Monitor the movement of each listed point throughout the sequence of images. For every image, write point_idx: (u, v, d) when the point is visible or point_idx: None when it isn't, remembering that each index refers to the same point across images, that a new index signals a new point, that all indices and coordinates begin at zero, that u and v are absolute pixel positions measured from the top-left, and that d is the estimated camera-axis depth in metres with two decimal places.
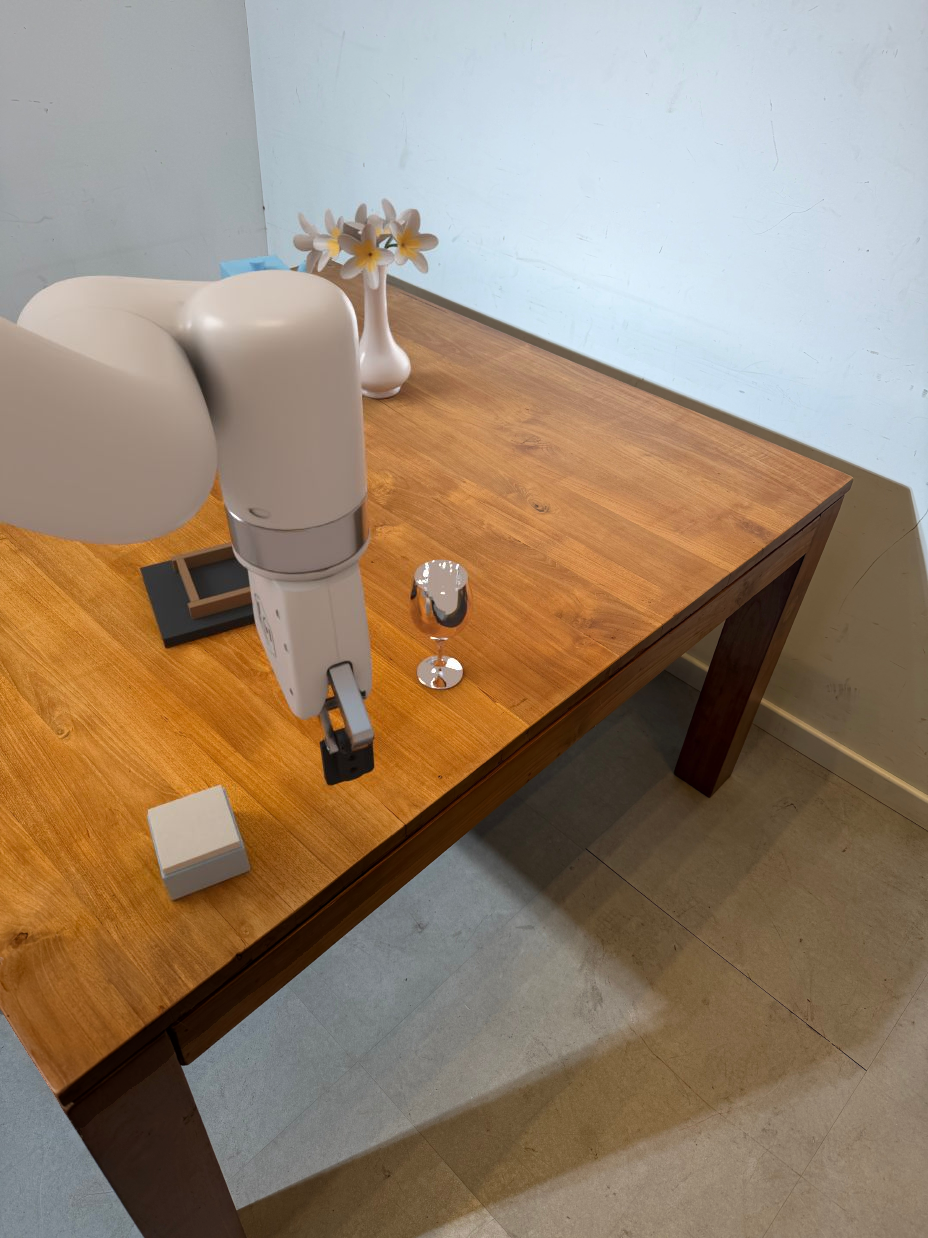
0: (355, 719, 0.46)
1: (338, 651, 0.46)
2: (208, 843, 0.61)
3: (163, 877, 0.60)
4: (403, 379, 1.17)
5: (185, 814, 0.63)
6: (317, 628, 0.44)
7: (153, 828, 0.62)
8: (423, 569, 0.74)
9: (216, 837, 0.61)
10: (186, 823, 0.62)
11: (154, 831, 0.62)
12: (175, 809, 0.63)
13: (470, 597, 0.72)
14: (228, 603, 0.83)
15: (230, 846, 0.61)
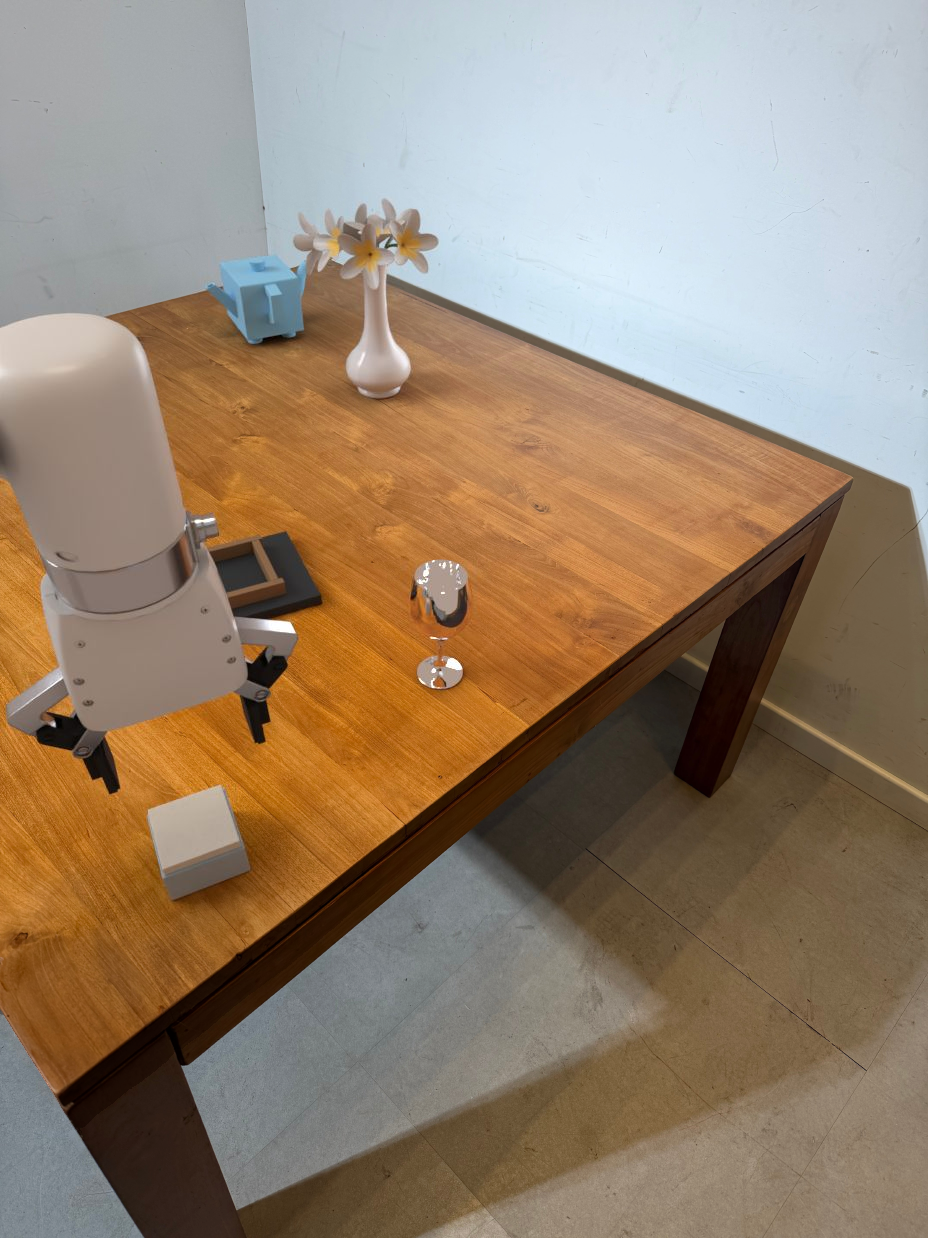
0: (18, 701, 0.48)
1: None
2: (208, 843, 0.61)
3: (163, 877, 0.60)
4: (403, 379, 1.17)
5: (185, 814, 0.63)
6: None
7: (153, 828, 0.62)
8: (423, 569, 0.74)
9: (216, 837, 0.61)
10: (186, 823, 0.62)
11: (154, 831, 0.62)
12: (175, 809, 0.63)
13: (470, 597, 0.72)
14: None
15: (230, 846, 0.61)
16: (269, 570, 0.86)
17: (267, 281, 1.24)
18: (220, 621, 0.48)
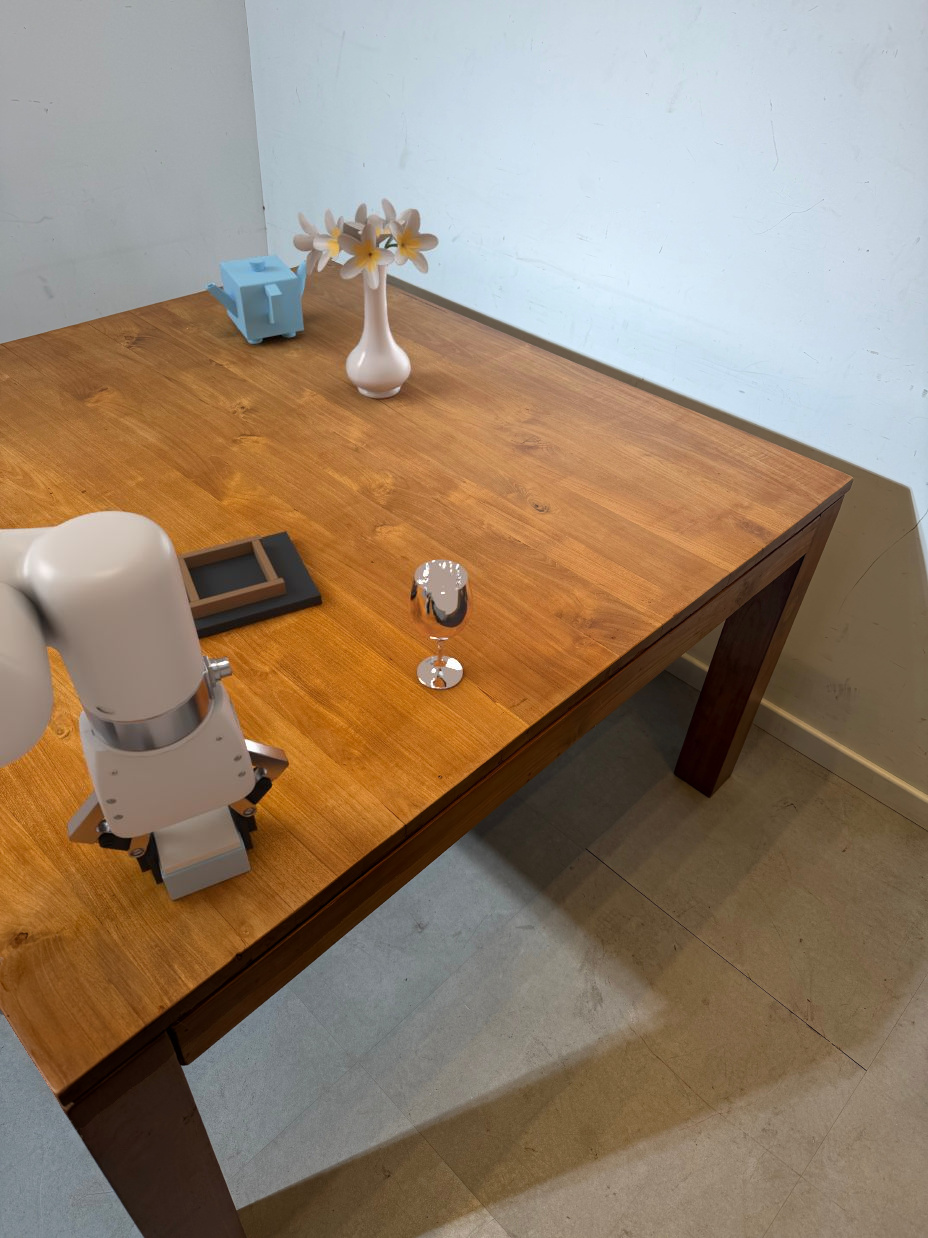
0: (73, 821, 0.57)
1: None
2: (208, 843, 0.61)
3: (163, 877, 0.60)
4: (403, 379, 1.17)
5: None
6: (82, 748, 0.54)
7: None
8: (423, 569, 0.74)
9: (216, 837, 0.61)
10: (186, 823, 0.62)
11: (154, 831, 0.62)
12: None
13: (470, 597, 0.72)
14: (228, 603, 0.83)
15: (230, 846, 0.61)
16: (269, 570, 0.86)
17: (267, 281, 1.24)
18: (232, 745, 0.56)
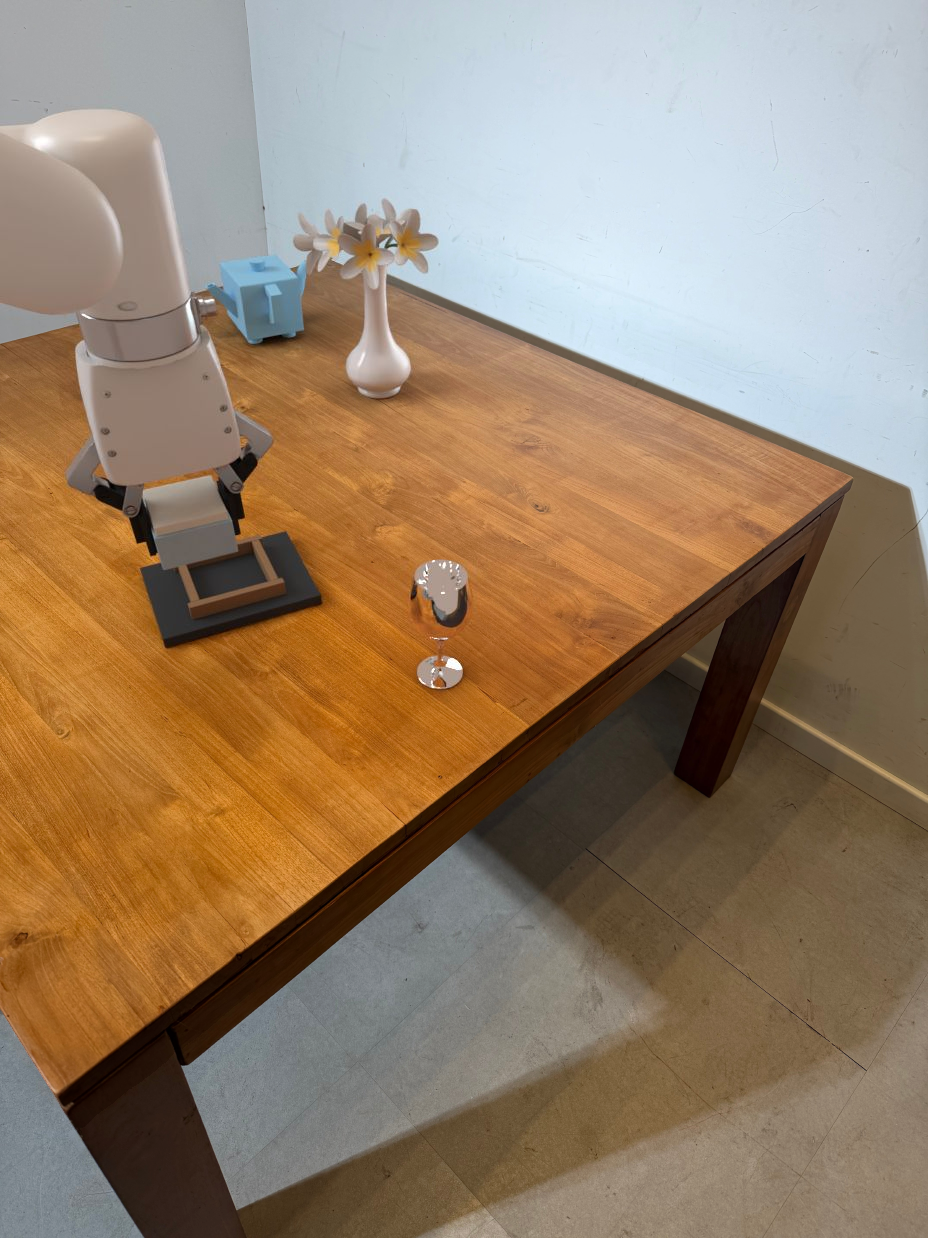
0: (71, 466, 0.61)
1: (87, 414, 0.59)
2: (197, 512, 0.65)
3: (155, 537, 0.64)
4: (403, 379, 1.17)
5: (177, 493, 0.67)
6: (79, 382, 0.58)
7: (146, 501, 0.66)
8: (423, 569, 0.74)
9: (205, 508, 0.66)
10: (177, 499, 0.66)
11: (147, 503, 0.66)
12: (167, 489, 0.67)
13: (470, 597, 0.72)
14: (228, 603, 0.83)
15: (218, 515, 0.65)
16: (269, 570, 0.86)
17: (267, 281, 1.24)
18: (218, 390, 0.60)
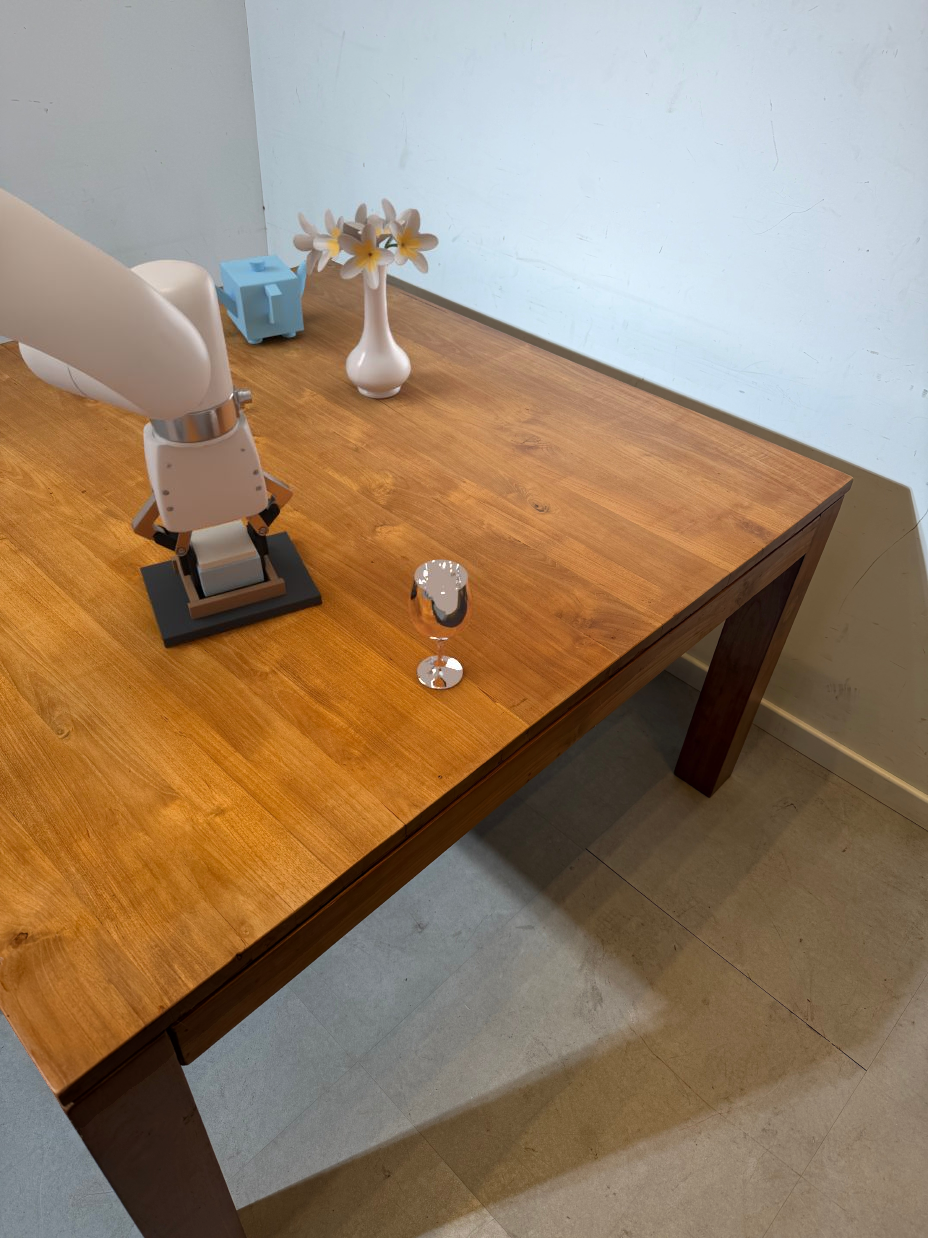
0: (136, 518, 0.78)
1: (150, 479, 0.76)
2: (233, 551, 0.82)
3: (200, 571, 0.81)
4: (403, 379, 1.17)
5: (215, 535, 0.84)
6: (145, 455, 0.75)
7: (192, 542, 0.83)
8: (423, 569, 0.74)
9: (239, 547, 0.83)
10: (216, 540, 0.84)
11: (192, 544, 0.83)
12: (207, 532, 0.84)
13: (470, 597, 0.72)
14: (228, 603, 0.83)
15: (249, 553, 0.82)
16: (269, 570, 0.86)
17: (267, 281, 1.24)
18: (252, 459, 0.77)
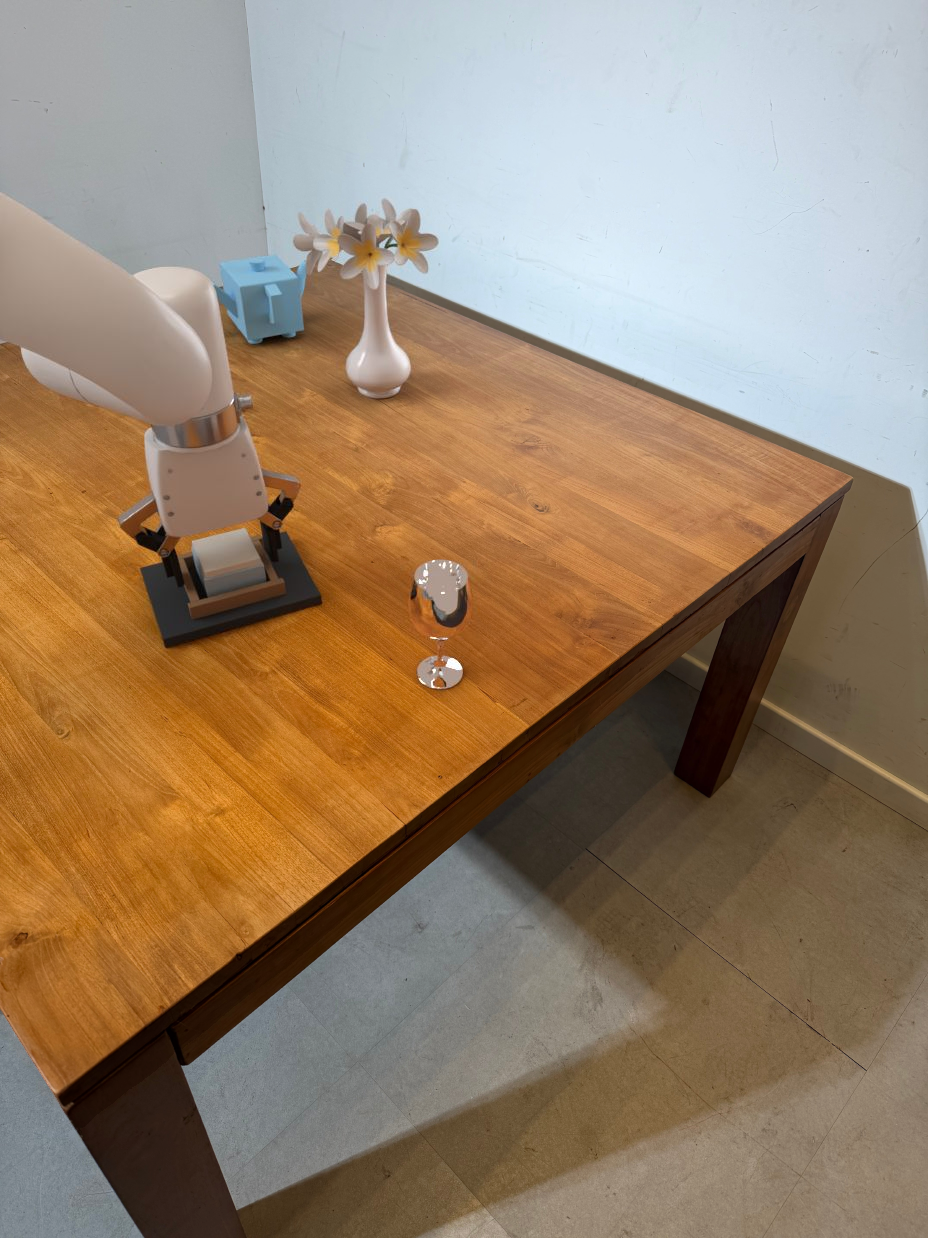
0: (126, 513, 0.77)
1: (151, 484, 0.76)
2: (237, 559, 0.83)
3: (205, 579, 0.82)
4: (403, 379, 1.17)
5: (219, 543, 0.85)
6: (146, 460, 0.76)
7: (196, 550, 0.84)
8: (423, 569, 0.74)
9: (243, 555, 0.84)
10: (220, 548, 0.85)
11: (197, 552, 0.84)
12: (212, 540, 0.85)
13: (470, 597, 0.72)
14: (228, 603, 0.83)
15: (253, 561, 0.83)
16: (269, 570, 0.86)
17: (267, 281, 1.24)
18: (252, 464, 0.77)
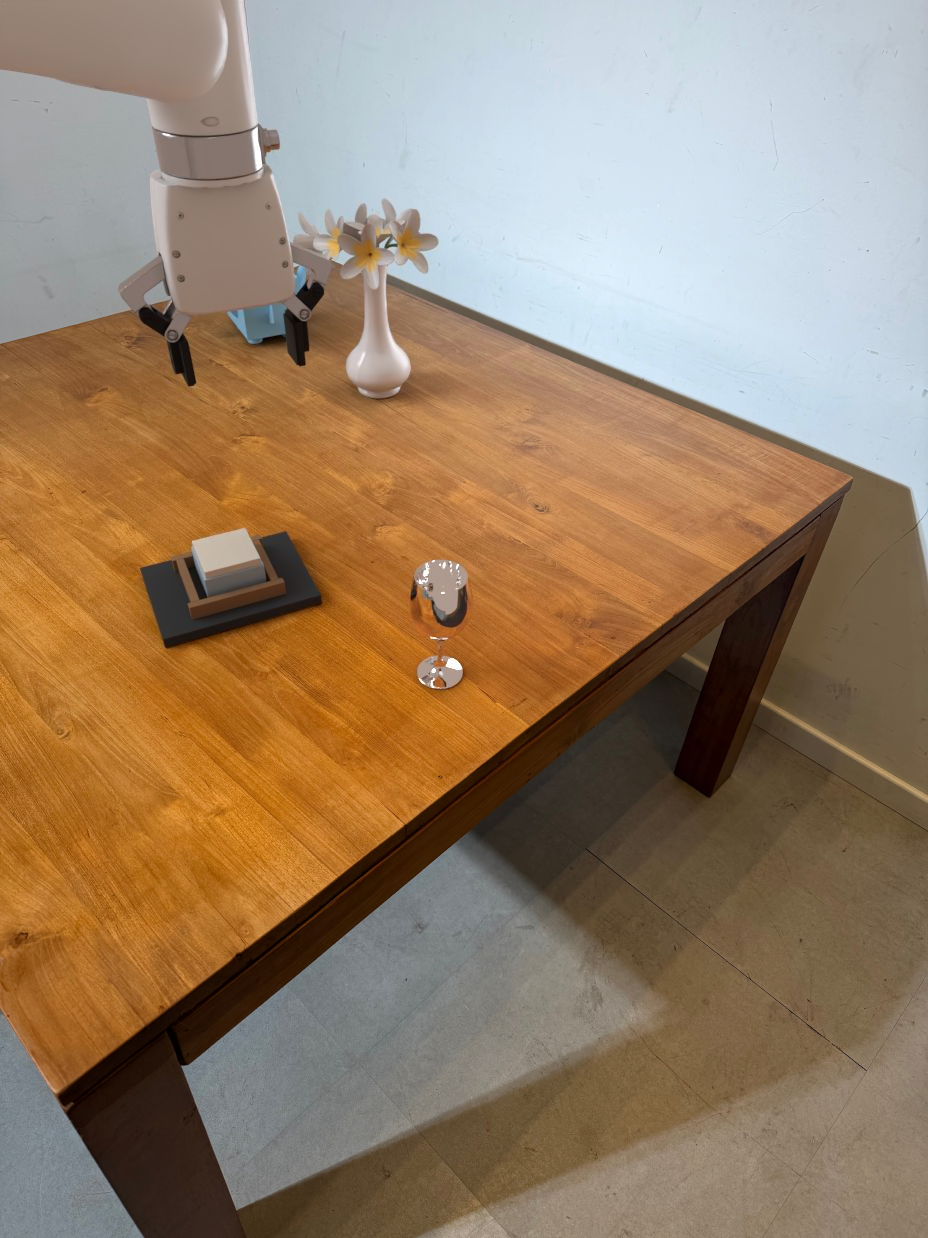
0: (128, 280, 0.65)
1: (158, 241, 0.64)
2: (237, 559, 0.83)
3: (205, 579, 0.82)
4: (403, 379, 1.17)
5: (219, 543, 0.85)
6: None
7: (196, 550, 0.84)
8: (423, 569, 0.74)
9: (243, 555, 0.84)
10: (220, 548, 0.85)
11: (197, 552, 0.84)
12: (212, 540, 0.85)
13: (470, 597, 0.72)
14: (228, 603, 0.83)
15: (253, 561, 0.83)
16: (269, 570, 0.86)
17: None
18: (278, 221, 0.65)
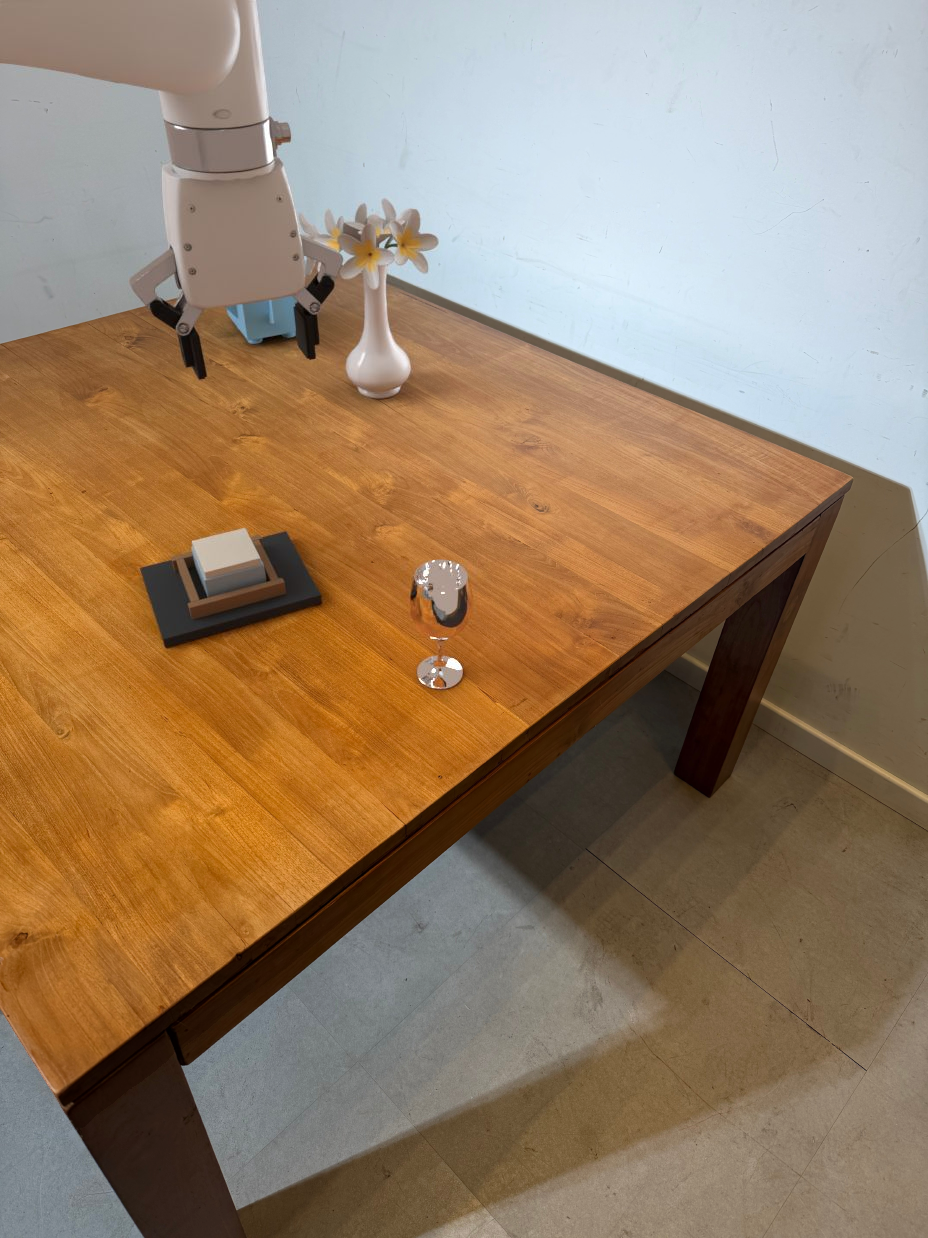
0: (139, 273, 0.65)
1: (169, 234, 0.64)
2: (237, 559, 0.83)
3: (205, 579, 0.82)
4: (403, 379, 1.17)
5: (219, 543, 0.85)
6: (163, 203, 0.63)
7: (196, 550, 0.84)
8: (423, 569, 0.74)
9: (243, 555, 0.84)
10: (220, 548, 0.85)
11: (197, 552, 0.84)
12: (212, 540, 0.85)
13: (470, 597, 0.72)
14: (228, 603, 0.83)
15: (253, 561, 0.83)
16: (269, 570, 0.86)
17: None
18: (289, 214, 0.65)
